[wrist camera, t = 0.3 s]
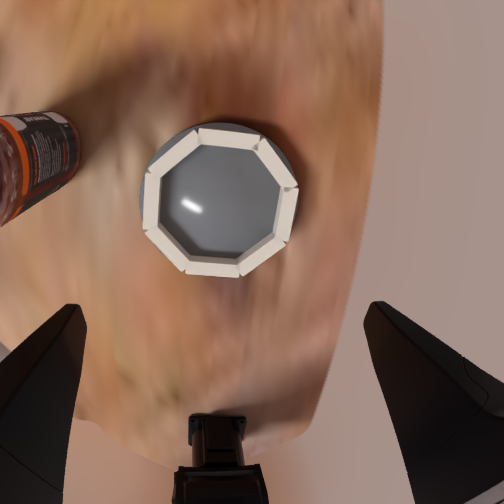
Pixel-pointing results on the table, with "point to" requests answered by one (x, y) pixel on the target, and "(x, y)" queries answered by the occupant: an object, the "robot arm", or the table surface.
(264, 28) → the table surface
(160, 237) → the ring seat
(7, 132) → the supplement bottle
